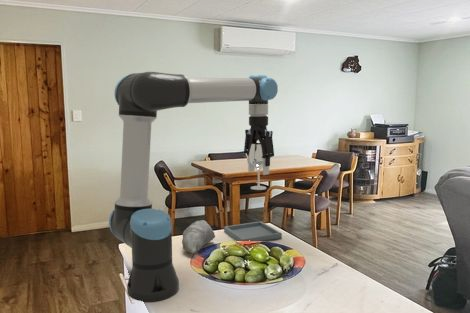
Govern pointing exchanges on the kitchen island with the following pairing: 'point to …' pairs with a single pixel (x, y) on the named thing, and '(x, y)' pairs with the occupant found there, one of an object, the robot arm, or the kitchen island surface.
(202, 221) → the grey rock
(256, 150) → the wineglass
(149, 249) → the robot arm
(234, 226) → the tray
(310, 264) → the kitchen island surface
